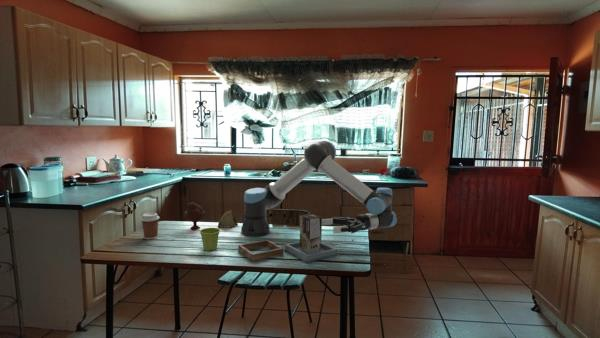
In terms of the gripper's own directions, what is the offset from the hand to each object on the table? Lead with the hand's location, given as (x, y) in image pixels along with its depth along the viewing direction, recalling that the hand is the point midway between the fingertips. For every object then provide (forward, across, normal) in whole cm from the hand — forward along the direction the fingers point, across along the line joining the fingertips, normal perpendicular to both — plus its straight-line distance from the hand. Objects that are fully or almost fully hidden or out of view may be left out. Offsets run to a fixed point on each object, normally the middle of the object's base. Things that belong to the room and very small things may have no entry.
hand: (326, 226), depth 164 cm
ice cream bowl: (+51, +60, -12) cm, 80 cm away
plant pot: (+49, +23, -12) cm, 55 cm away
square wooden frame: (+29, +9, -12) cm, 32 cm away
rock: (+34, +59, -12) cm, 69 cm away
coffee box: (+8, 0, -11) cm, 13 cm away
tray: (+8, 0, -12) cm, 14 cm away
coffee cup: (+74, +52, -12) cm, 92 cm away
